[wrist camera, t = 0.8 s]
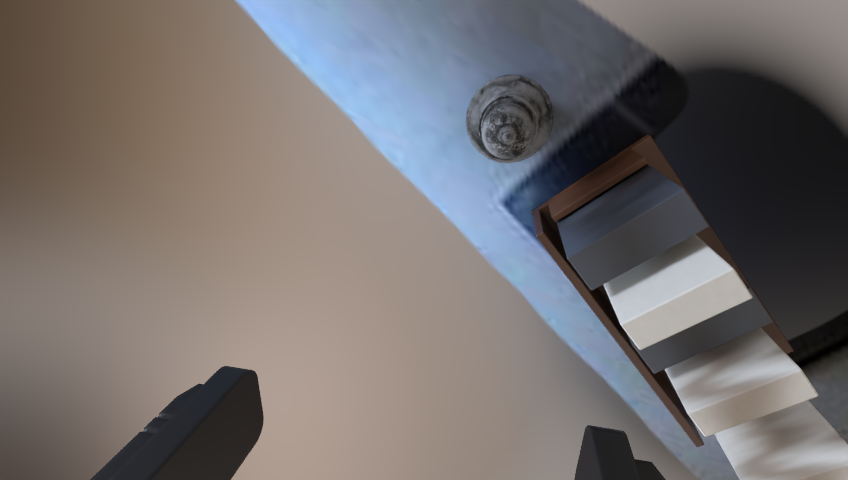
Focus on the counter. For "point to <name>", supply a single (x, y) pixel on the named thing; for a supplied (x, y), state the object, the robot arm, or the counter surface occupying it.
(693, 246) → the white book
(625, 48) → the counter surface
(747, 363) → the book rack
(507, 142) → the stone chess piece
